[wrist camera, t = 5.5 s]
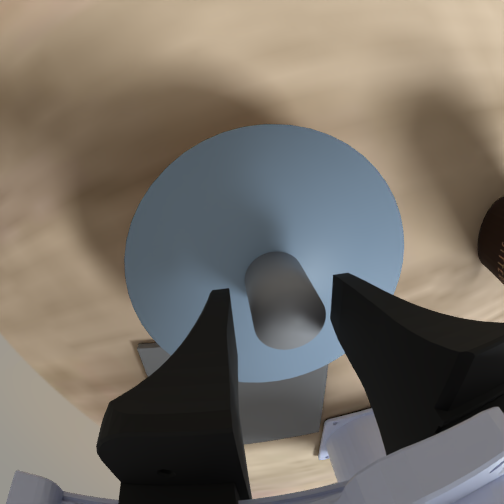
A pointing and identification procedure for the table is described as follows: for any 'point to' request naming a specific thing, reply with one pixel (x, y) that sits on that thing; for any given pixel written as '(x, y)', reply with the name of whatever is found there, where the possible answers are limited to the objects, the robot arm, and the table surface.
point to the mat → (267, 401)
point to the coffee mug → (493, 240)
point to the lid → (262, 243)
